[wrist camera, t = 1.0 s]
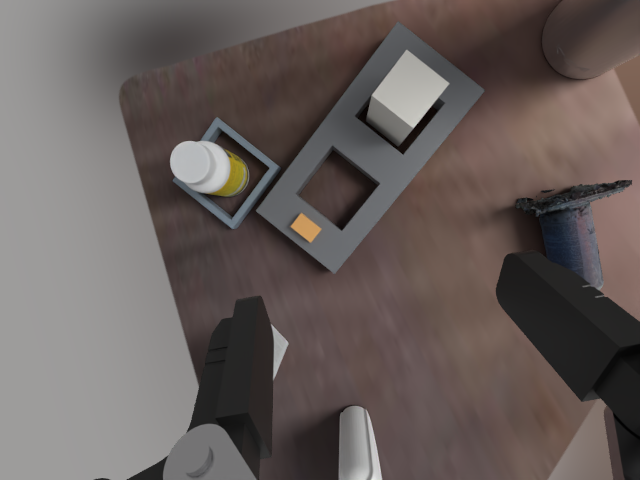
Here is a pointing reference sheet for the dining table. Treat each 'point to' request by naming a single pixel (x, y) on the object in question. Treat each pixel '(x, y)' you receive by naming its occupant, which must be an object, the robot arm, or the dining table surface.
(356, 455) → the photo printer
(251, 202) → the blue-grey square frame
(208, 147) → the supplement bottle
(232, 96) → the dining table surface
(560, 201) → the dark piece
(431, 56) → the socket strip
